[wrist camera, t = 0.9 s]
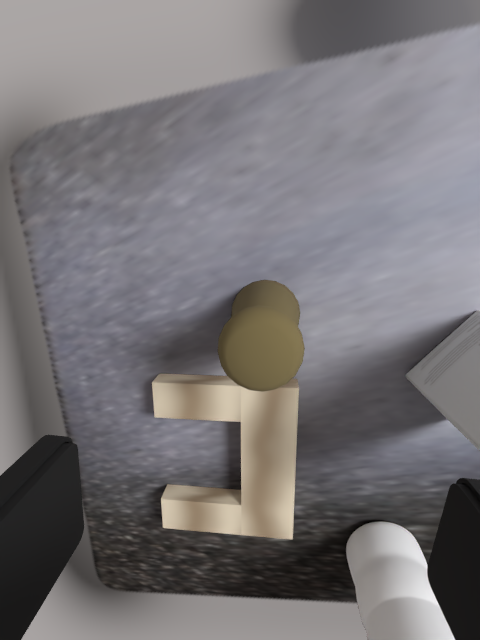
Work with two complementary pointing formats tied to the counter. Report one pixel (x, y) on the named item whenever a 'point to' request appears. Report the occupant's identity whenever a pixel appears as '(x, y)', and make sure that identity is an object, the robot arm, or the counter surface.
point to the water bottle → (393, 585)
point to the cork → (262, 337)
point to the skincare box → (454, 378)
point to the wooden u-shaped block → (256, 456)
